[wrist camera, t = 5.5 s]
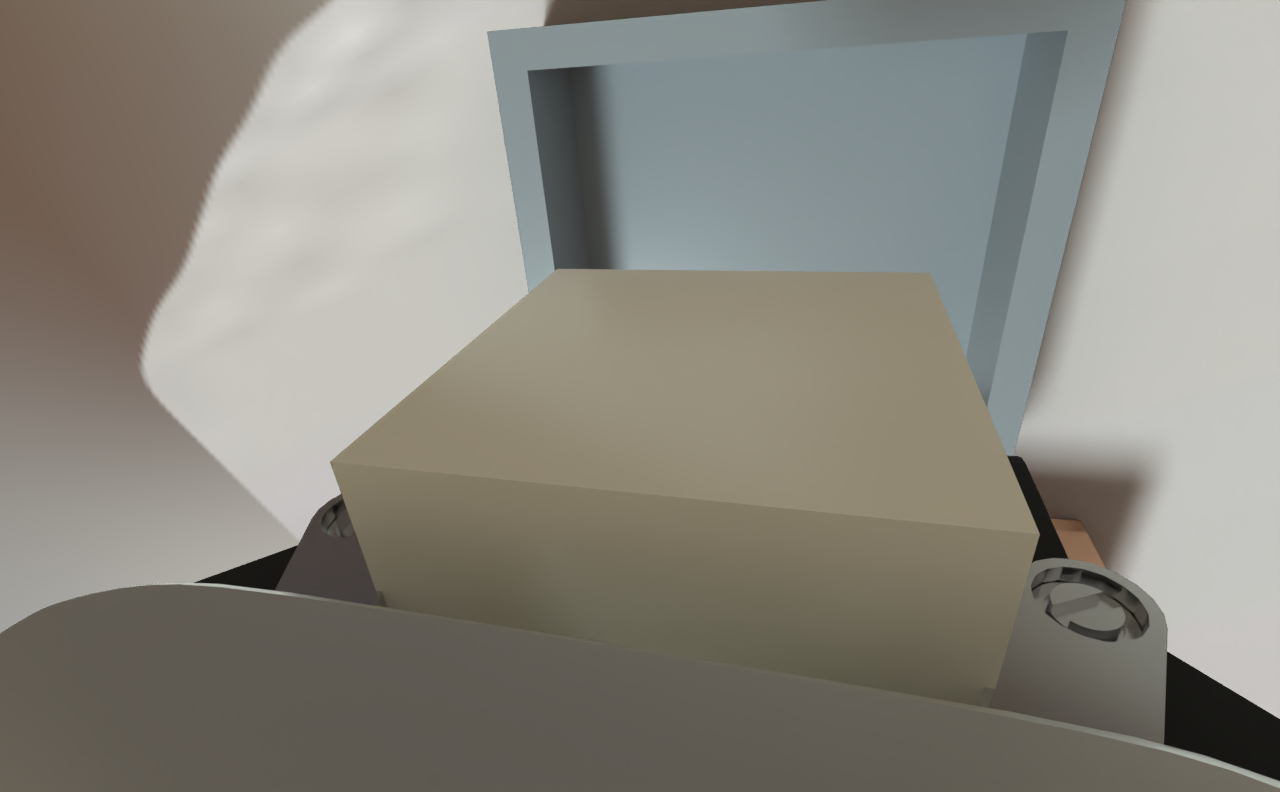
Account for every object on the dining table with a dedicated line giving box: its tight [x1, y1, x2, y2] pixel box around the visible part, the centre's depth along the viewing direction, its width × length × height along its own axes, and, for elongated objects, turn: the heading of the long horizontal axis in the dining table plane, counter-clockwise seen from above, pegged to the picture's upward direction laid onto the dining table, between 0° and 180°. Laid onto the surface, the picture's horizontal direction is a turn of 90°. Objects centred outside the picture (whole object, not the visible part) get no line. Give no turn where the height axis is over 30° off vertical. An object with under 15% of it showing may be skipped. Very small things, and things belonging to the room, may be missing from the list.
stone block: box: [330, 269, 1040, 706], centre depth 9 cm, size 6×6×6 cm
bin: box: [487, 0, 1126, 456], centre depth 25 cm, size 18×18×5 cm
